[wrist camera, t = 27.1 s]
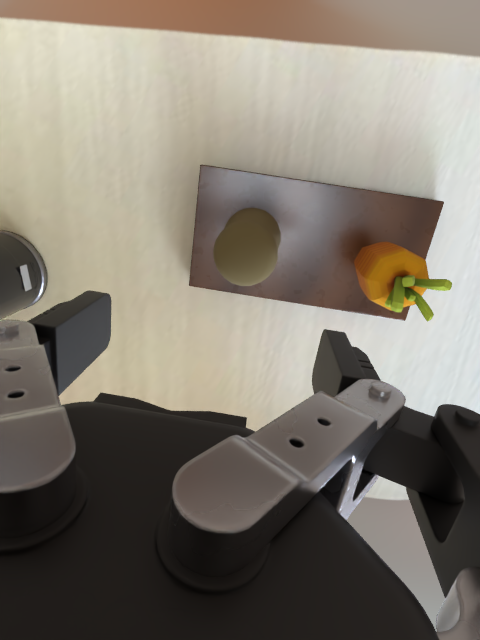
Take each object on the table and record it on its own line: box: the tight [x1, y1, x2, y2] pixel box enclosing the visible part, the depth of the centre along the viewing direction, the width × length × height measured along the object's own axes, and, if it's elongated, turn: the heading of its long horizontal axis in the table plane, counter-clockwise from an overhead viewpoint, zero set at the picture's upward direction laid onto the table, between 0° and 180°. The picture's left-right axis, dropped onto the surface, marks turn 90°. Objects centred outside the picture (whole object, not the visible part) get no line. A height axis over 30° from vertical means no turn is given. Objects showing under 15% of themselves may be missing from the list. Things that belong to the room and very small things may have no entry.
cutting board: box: [189, 165, 444, 321], centre depth 39 cm, size 24×12×2 cm, turn 82°
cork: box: [213, 208, 281, 286], centre depth 33 cm, size 6×6×11 cm
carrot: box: [354, 242, 452, 321], centre depth 31 cm, size 5×5×15 cm
